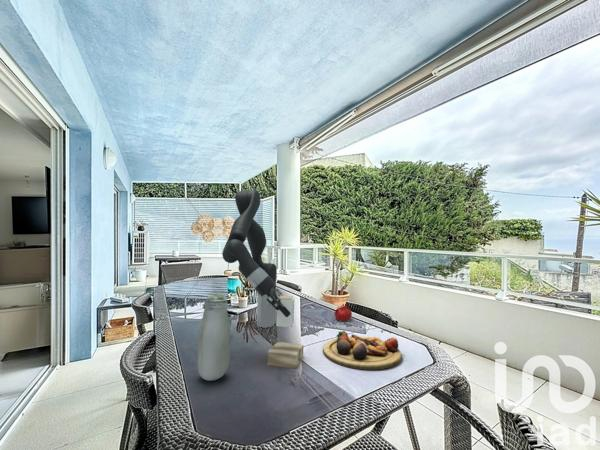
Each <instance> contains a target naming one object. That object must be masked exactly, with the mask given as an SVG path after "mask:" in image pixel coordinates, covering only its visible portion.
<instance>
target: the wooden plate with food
mask: <svg viewBox="0 0 600 450" xmlns="http://www.w3.org/2000/svg"><path fill="white" fill-rule="evenodd" d="M322 354H323V355H324V357H325V358H326V359H328V361H330V362H332V363H334V364H337V365H339V366H342V367H345V368H352V369H354V370H356V369H357V370H368V371H370V370H371V371H376V370H378V371H379V370H383V369H388V368H389V369H390V368H392V367H394V366H396V365H398V364H399V363H400V362H401V360H402V358H403V355H402V352H401V350H400V349H399V341H398V339H397V338H395V337H390V338H388V339H386V340H382V339H381V338H379V337H376V336H368V337H366V336H358V335H356V334H353V333H352V334H351V336H349V335H348V332H346V331H345V330H342V331H339V332H338V334H337V335H336V338H333V339H330V340H328V341H327V342H325V344H324V345H323V346H322Z"/></svg>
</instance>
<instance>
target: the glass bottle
mask: <svg viewBox="0 0 600 450" xmlns="http://www.w3.org/2000/svg"><path fill="white" fill-rule="evenodd" d="M229 318H230V317H229V315H228V299H227V297H226V295H224V294H222V293H212V294H210V295H209V296H207V297H206V298H205V301H204V309H203V314H202V318H201V321H200V323H199V328H198V336H197V337H198V338H197V371H198V374H199V376H200V377H201V379H202V380H205V381H208V382H209V381H210V382H211V381H216V380H218V379H221V378H222V377H223V376H224V375H225V374H226V372H227V370H228V368H229V364H230V351H231V350H230V348H231V347H230V346H231V336H232V335H231V331H232V330H231V327H230V323H229Z"/></svg>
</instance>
